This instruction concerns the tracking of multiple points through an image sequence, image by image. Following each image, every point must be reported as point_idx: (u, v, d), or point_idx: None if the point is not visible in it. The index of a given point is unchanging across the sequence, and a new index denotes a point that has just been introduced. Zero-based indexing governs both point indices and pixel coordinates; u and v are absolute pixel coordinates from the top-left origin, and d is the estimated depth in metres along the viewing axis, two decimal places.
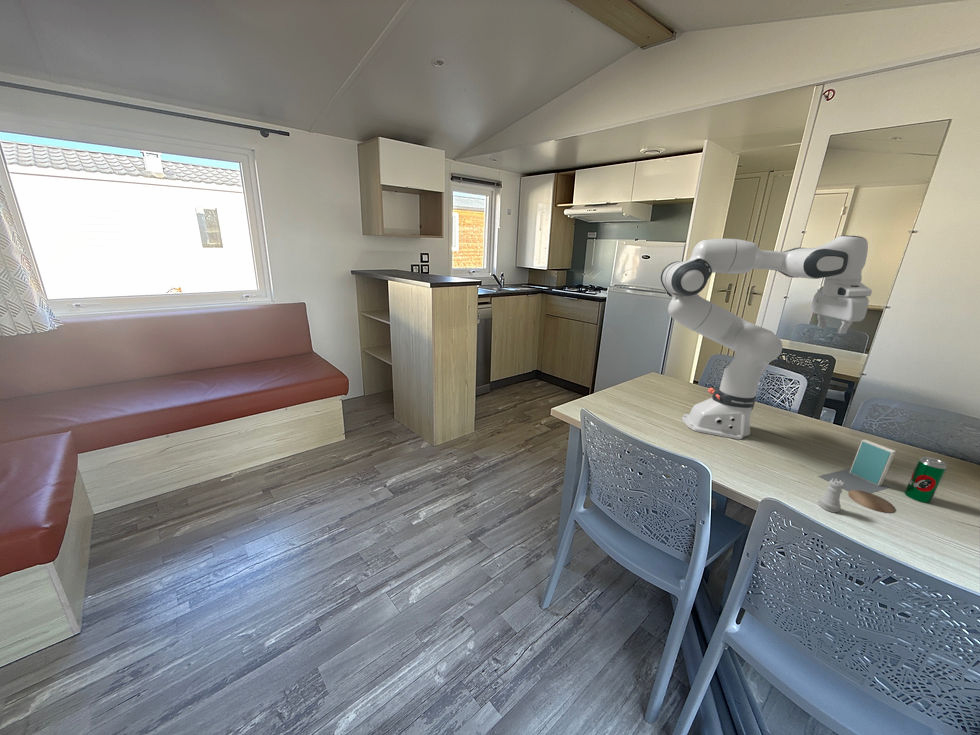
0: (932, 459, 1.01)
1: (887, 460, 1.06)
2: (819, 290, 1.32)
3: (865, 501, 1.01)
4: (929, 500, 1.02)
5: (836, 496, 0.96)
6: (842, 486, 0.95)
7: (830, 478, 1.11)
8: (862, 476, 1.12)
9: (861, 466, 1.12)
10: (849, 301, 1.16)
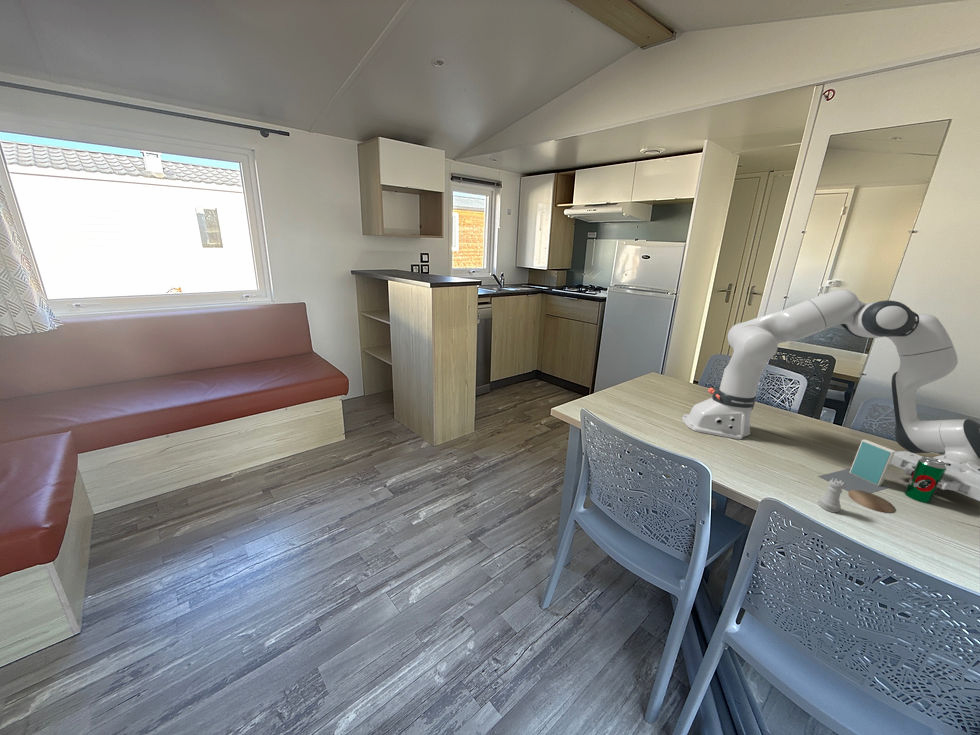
0: (932, 459, 1.01)
1: (887, 460, 1.06)
2: None
3: (865, 501, 1.01)
4: (929, 500, 1.02)
5: (836, 496, 0.96)
6: (842, 486, 0.95)
7: (830, 478, 1.11)
8: (862, 476, 1.12)
9: (861, 466, 1.12)
10: None
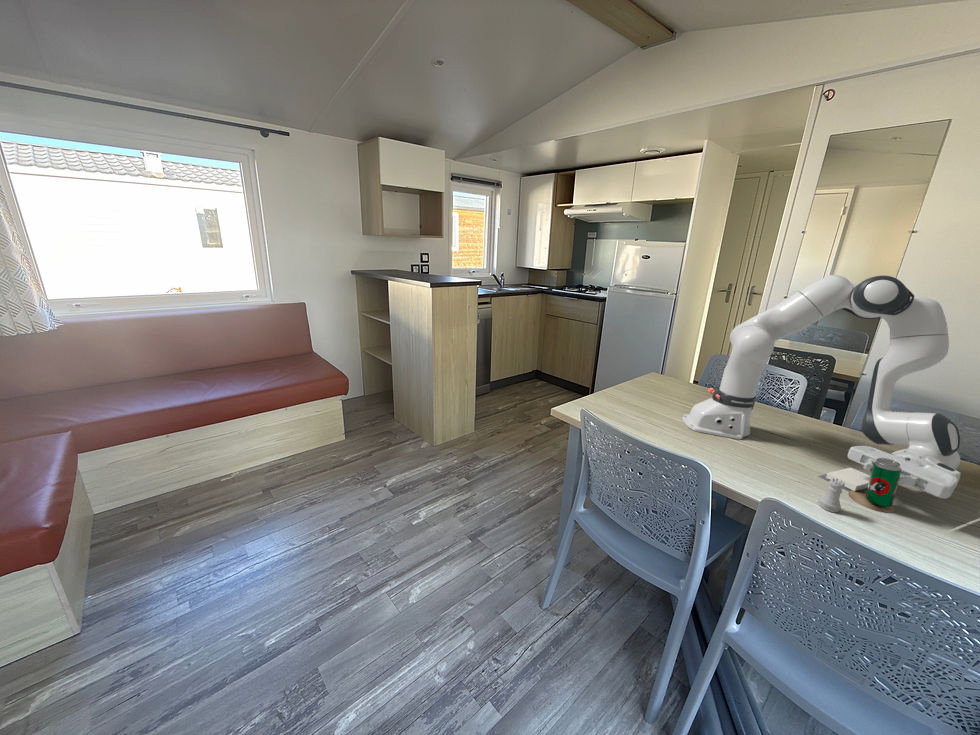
0: (887, 461, 0.97)
1: None
2: None
3: (865, 501, 1.01)
4: (888, 504, 0.97)
5: (836, 496, 0.96)
6: (842, 486, 0.95)
7: None
8: None
9: None
10: (955, 477, 0.94)
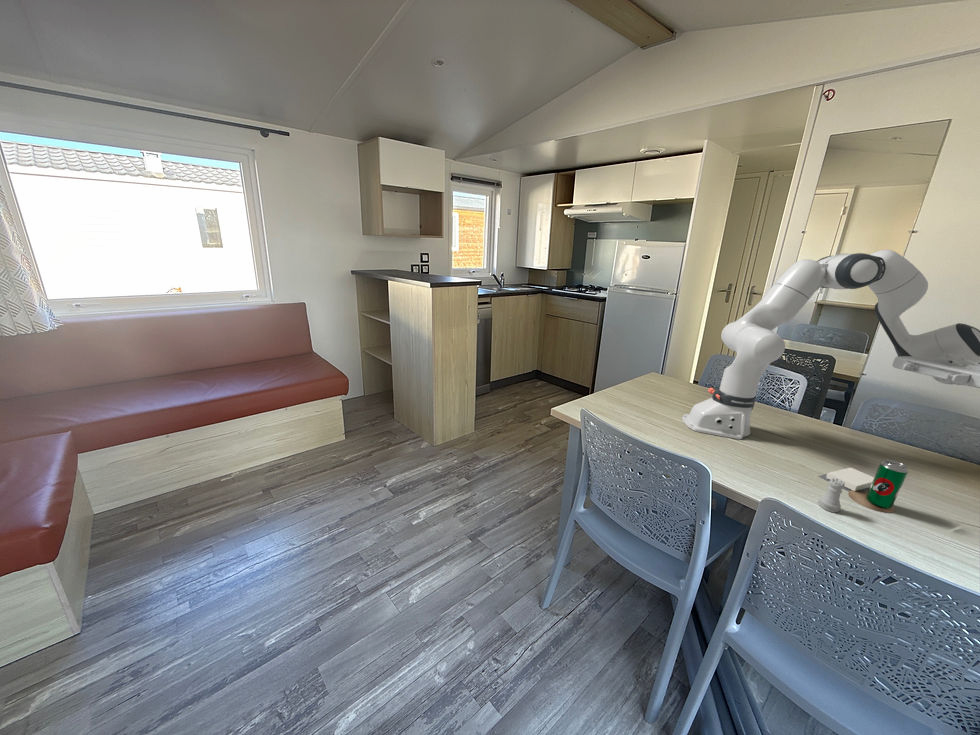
0: (894, 462, 0.97)
1: None
2: None
3: (865, 501, 1.01)
4: (888, 505, 0.97)
5: (836, 496, 0.96)
6: (842, 486, 0.95)
7: None
8: None
9: None
10: None
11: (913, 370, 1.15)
